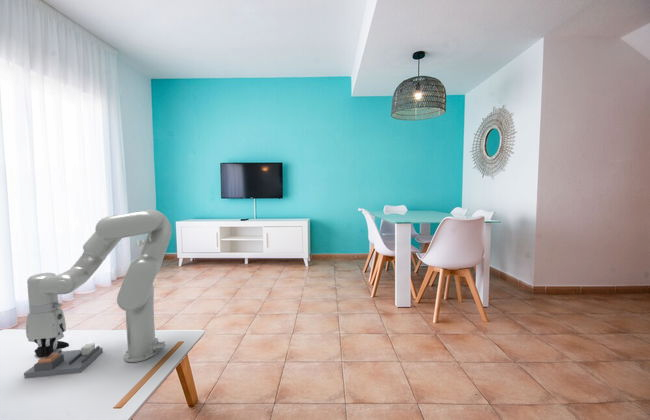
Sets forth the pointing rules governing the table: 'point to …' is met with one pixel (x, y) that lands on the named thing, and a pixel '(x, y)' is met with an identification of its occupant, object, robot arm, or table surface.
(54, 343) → the toggle lever
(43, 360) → the push button
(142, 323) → the robot arm
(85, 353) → the slide switch
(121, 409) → the table surface
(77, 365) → the control panel
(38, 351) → the game controller
